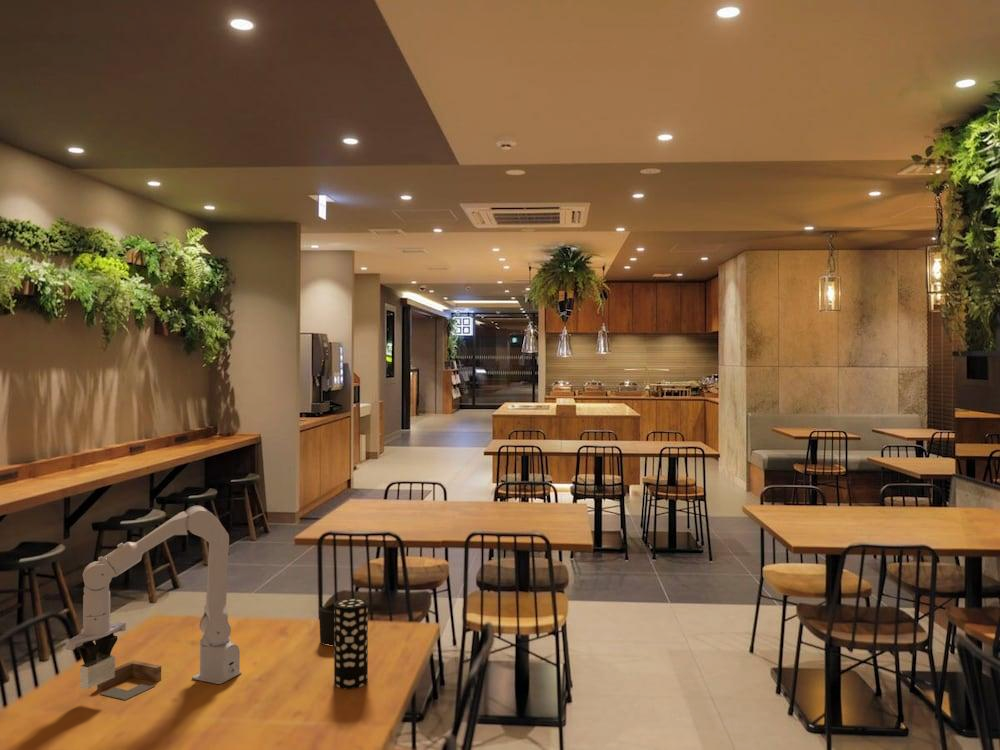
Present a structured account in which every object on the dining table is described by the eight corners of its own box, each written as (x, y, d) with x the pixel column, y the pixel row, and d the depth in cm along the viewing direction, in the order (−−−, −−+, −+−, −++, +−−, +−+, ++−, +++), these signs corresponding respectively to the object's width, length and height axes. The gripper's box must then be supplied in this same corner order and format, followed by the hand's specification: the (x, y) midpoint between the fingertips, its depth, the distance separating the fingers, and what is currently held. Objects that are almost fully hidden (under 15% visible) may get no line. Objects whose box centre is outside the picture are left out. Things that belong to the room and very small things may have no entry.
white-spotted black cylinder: (353, 672, 186) (353, 596, 187) (374, 681, 181) (374, 602, 181) (327, 683, 180) (327, 603, 180) (348, 692, 175) (348, 610, 175)
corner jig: (161, 679, 182) (161, 665, 182) (125, 696, 172) (125, 681, 172) (133, 673, 186) (133, 660, 186) (97, 689, 176) (97, 675, 176)
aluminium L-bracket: (114, 677, 170) (114, 656, 170) (87, 689, 164) (88, 667, 164) (94, 672, 173) (94, 651, 173) (66, 683, 166) (66, 662, 166)
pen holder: (352, 645, 206) (352, 610, 206) (318, 648, 204) (318, 613, 204) (351, 634, 215) (351, 601, 216) (319, 637, 213) (319, 603, 213)
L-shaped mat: (154, 686, 178) (154, 685, 178) (125, 700, 170) (125, 699, 170) (130, 681, 181) (130, 680, 181) (100, 694, 173) (100, 693, 173)
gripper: (111, 602, 179) (111, 656, 179) (56, 620, 166) (56, 678, 166) (132, 605, 177) (131, 660, 176) (77, 623, 163) (77, 683, 163)
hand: (96, 669), depth 171 cm, fingers closed on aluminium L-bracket, 2 cm apart
